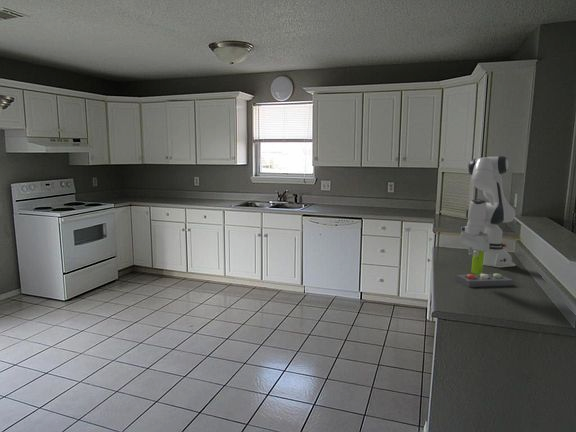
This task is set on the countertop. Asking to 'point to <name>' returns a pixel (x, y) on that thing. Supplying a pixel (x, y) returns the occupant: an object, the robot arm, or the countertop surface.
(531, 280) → the countertop surface
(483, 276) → the button cream
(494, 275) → the button sage
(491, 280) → the console
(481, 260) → the soap dispenser
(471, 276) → the button red
